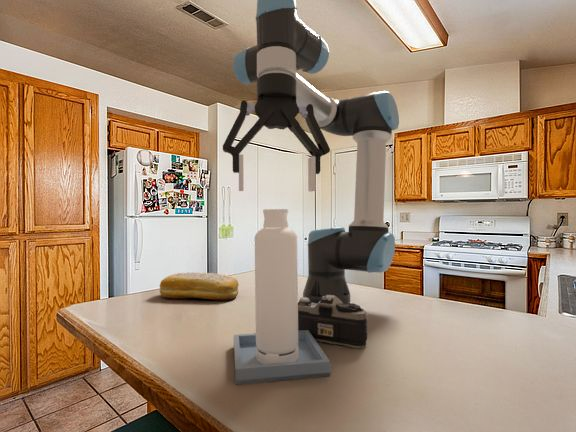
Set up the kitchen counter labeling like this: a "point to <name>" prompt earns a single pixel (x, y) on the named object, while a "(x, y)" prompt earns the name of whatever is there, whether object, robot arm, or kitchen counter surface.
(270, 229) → the bottle
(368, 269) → the robot arm
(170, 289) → the bread
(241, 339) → the tray
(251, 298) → the kitchen counter surface
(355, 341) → the camera
